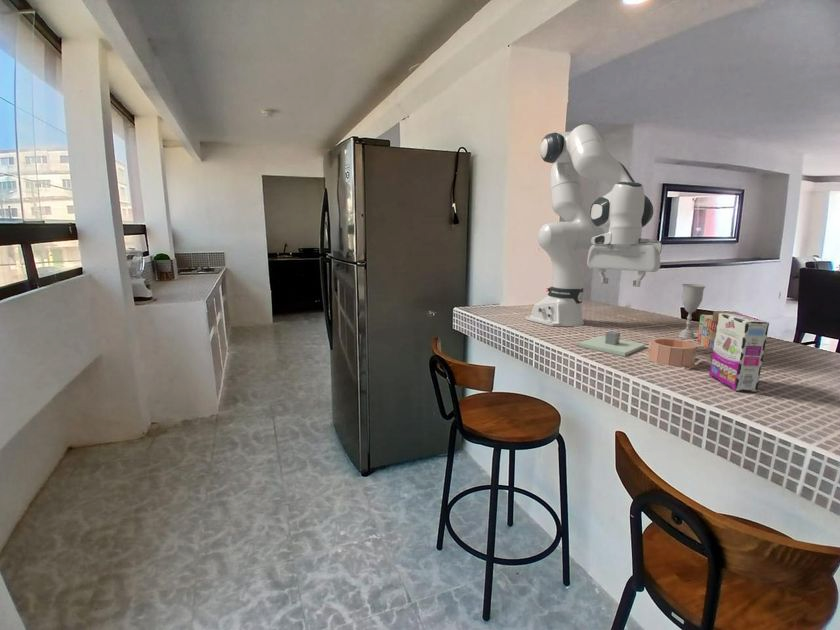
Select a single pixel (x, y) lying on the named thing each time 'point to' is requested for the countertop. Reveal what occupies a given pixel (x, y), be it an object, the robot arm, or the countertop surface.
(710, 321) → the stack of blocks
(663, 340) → the bowl
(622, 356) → the mat
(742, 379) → the candy bar box
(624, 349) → the lid
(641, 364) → the countertop surface
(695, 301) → the chalice
